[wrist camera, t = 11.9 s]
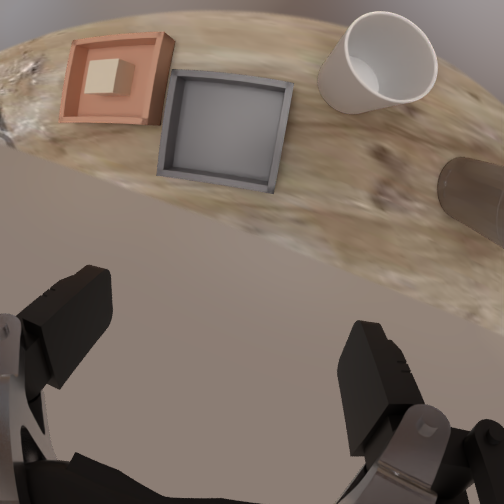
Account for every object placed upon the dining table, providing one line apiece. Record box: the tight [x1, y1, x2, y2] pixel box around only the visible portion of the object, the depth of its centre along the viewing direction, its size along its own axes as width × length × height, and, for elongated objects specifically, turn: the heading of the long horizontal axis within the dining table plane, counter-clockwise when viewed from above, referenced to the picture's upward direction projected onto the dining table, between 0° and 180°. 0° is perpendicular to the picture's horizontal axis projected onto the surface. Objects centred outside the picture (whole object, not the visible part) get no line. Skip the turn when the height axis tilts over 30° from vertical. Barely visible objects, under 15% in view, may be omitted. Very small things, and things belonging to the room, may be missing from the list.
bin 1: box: [59, 32, 175, 125], centre depth 32 cm, size 14×12×4 cm
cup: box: [318, 11, 438, 114], centre depth 26 cm, size 8×8×16 cm
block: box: [84, 59, 135, 96], centre depth 31 cm, size 4×4×5 cm
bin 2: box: [156, 69, 294, 194], centre depth 34 cm, size 14×13×4 cm
